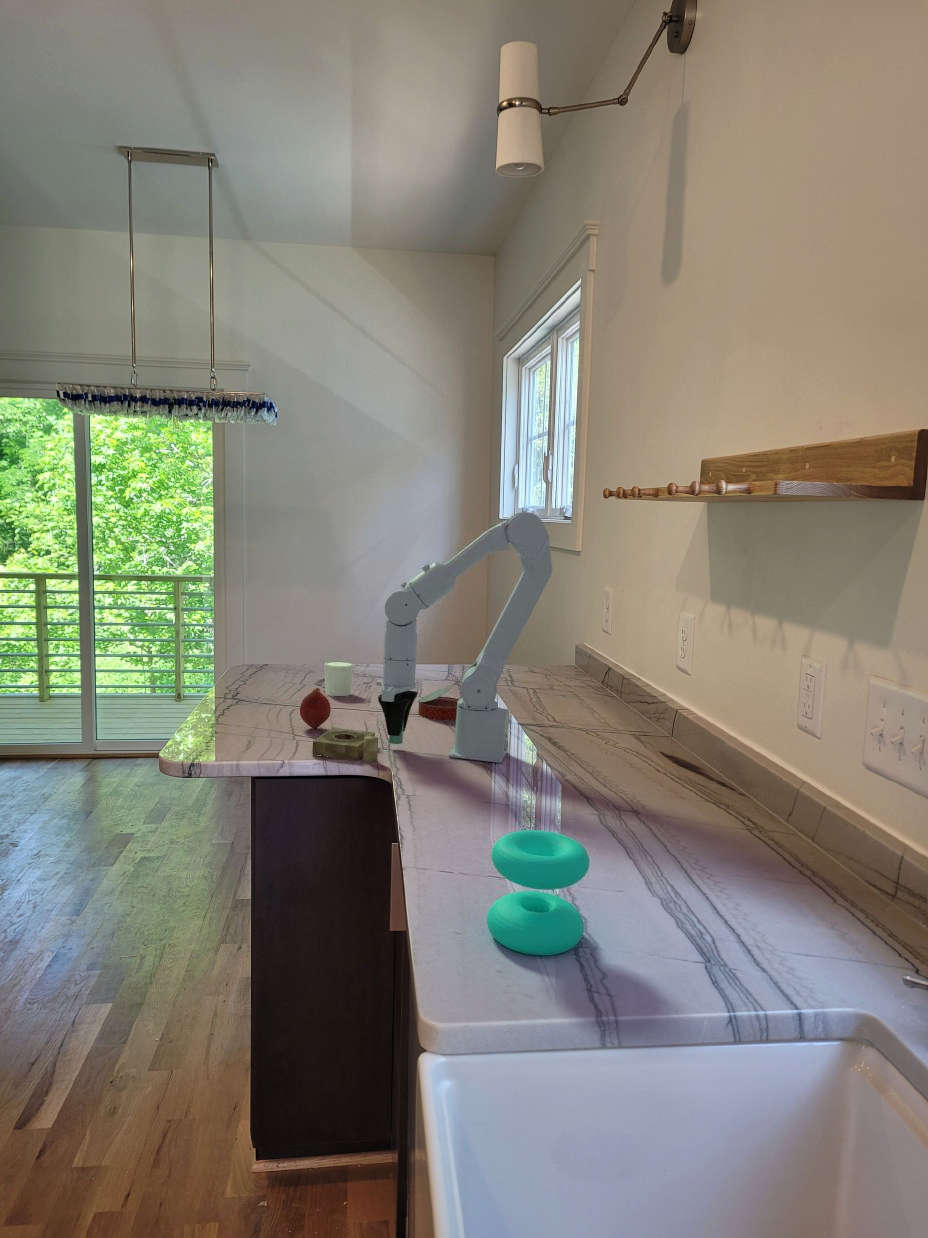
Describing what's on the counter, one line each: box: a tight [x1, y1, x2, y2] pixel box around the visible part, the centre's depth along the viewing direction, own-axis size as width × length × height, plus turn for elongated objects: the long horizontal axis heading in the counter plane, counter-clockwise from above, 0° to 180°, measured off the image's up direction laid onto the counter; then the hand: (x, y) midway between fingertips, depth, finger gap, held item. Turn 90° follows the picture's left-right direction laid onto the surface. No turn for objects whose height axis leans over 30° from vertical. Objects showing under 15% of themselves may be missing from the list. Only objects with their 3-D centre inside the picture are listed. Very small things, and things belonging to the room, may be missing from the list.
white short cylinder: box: [323, 661, 355, 697], centre depth 198 cm, size 7×7×7 cm
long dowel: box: [388, 721, 404, 745], centre depth 156 cm, size 2×2×6 cm
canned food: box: [418, 677, 462, 721], centre depth 184 cm, size 11×10×10 cm
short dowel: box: [362, 735, 379, 764], centre depth 148 cm, size 2×2×4 cm
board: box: [311, 727, 376, 762], centre depth 153 cm, size 8×10×2 cm
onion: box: [299, 686, 332, 729], centre depth 167 cm, size 6×6×8 cm
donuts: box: [486, 829, 590, 956], centre depth 90 cm, size 10×10×10 cm
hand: (396, 733), depth 156 cm, fingers closed on long dowel, 2 cm apart
